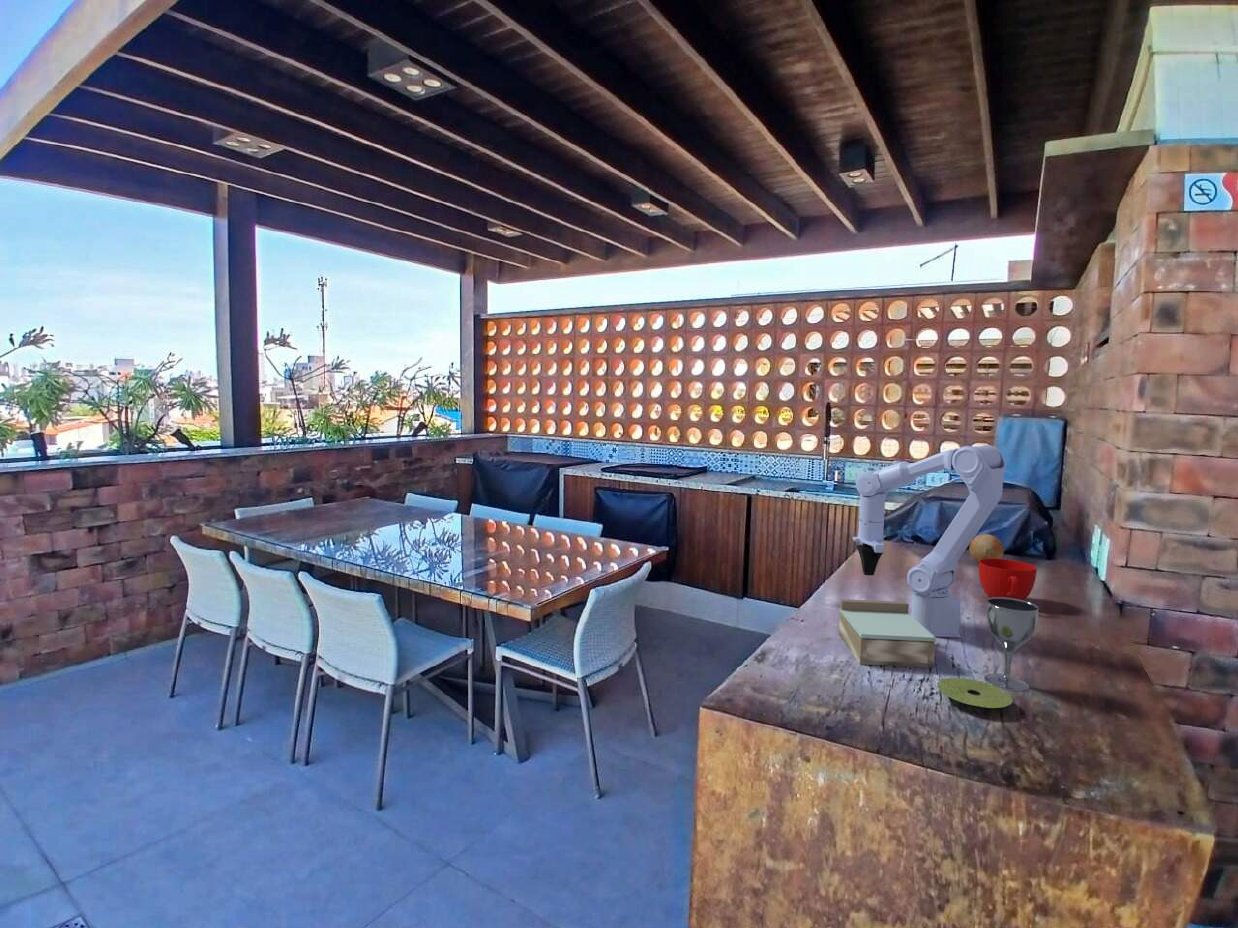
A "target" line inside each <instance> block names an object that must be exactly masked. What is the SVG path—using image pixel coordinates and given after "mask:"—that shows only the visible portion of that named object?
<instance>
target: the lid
mask: <svg viewBox="0 0 1238 928" xmlns="http://www.w3.org/2000/svg"><path fill="white" fill-rule="evenodd" d="M839 603H840V607H839V613H842V614H843V616H844V617H845V618H846V620H847V621H848V622H849V623H850V625H851V626H852V627H853V628H854V630H855V631H856V632H857V633H858V635H859V636H860V637H861V638H870V639H891V640H912V641H933V642H935V643H936V640H937V639H936V638H937V637H936V636H933V635H932V634H931V633H930V632H929V631H928V630H927V629H925V628H924V627H923V626H922V625H921V624H920V623H919V622H918V621H916V620H915V619H914V618H913V617H912V616H911V613H909V608H910V607H909V605H910V604H909V603H908V602H907V601H894V600H892V601H891V600H872V599H871V600H869V599H867V600H866V599H847V598H846V599H844V598H840V602H839Z"/></svg>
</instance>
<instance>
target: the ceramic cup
mask: <svg viewBox="0 0 1238 928" xmlns="http://www.w3.org/2000/svg"><path fill="white" fill-rule="evenodd" d="M1037 571H1038V569H1037V567H1036V566H1035V565H1033V564H1031V563H1027V562H1024V561H1023V562H1022V561H1020V560H1013V559H1007V558H1005V559H1004V558H1001V559H982V560H980V561H979V563H978V578H979V582H980V585H981V588H982V590H983V592H984V593H985V594H986V596H987V597H988V599H989V598H992V597H1006V598H1014V599H1019V600H1023V601H1025V600H1026V599H1027V598H1028V596H1029V595H1030V594H1031V592H1032V591H1033V589H1034V585H1035V582H1036V579H1037Z"/></svg>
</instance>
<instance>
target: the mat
mask: <svg viewBox="0 0 1238 928" xmlns="http://www.w3.org/2000/svg"><path fill="white" fill-rule="evenodd" d="M936 685H937V688H938V689H939V690H938V691H940V692H941V693H942V694H944V695H945V696H947V697H948V698H951V699H952V700H955V701H957V702H959V703H962V704H966V705H970V706H974V707H975V706H976V707H981V708H987V709H996V708H997V709H998V708H999V709H1000V708H1005V707H1007V706H1010V705H1011V704H1012V703H1013V698H1012V696H1011V695H1010V694H1009V693H1008V692H1007V691H1005V690H1004V689H1002V688H999V687H996V686H994V685H991V684H990V683H988V682H985V681H984V682H983V681H980V680H976V679H972V678H965V677H947V678H942V679H941V680H939V681H937V683H936Z"/></svg>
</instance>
